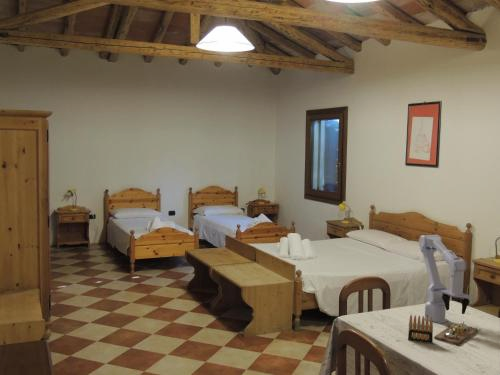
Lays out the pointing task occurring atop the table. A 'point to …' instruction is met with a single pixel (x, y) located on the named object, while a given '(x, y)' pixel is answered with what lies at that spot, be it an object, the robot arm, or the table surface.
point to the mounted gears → (452, 334)
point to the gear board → (459, 339)
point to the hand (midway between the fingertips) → (455, 311)
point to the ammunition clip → (421, 330)
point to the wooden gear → (457, 329)
